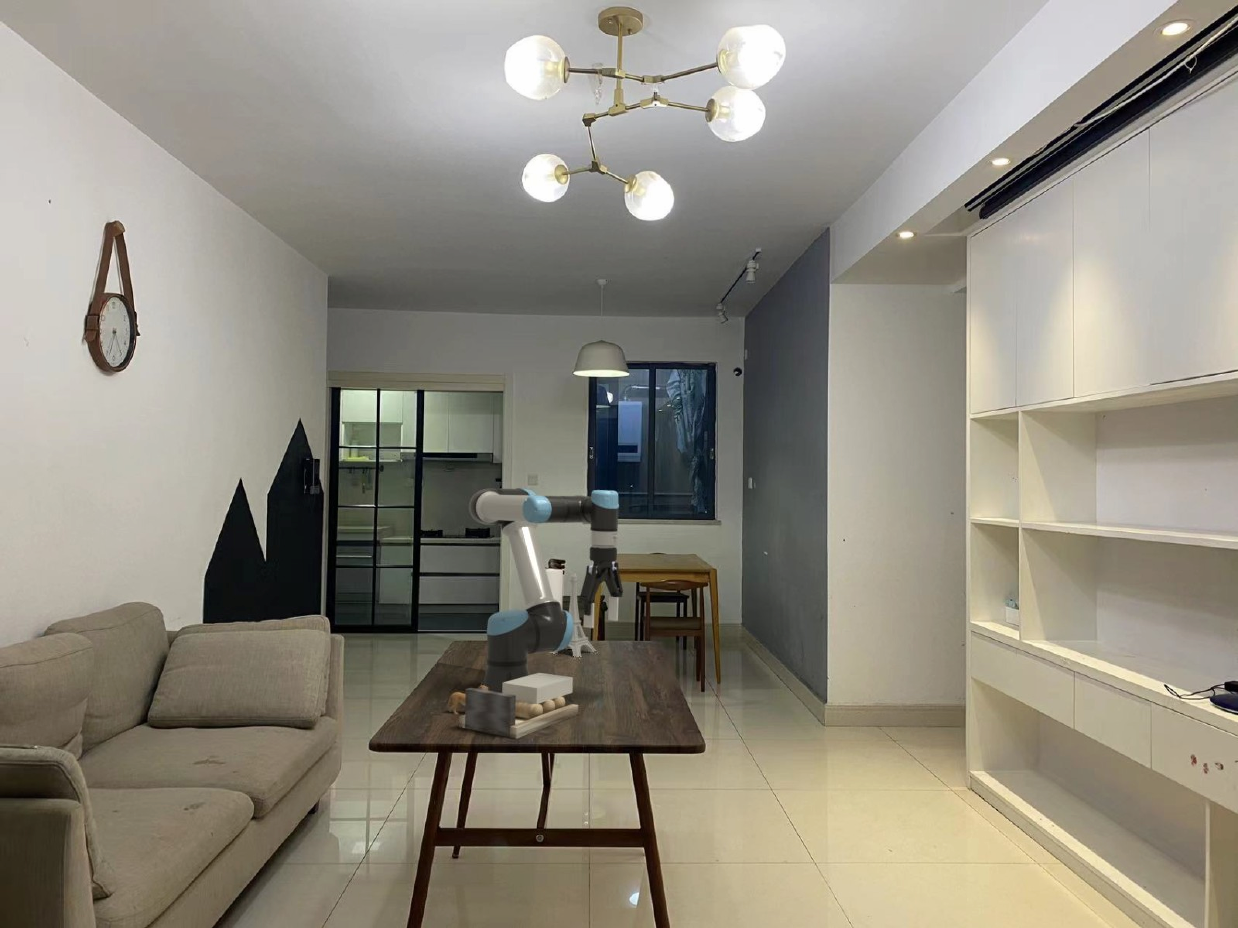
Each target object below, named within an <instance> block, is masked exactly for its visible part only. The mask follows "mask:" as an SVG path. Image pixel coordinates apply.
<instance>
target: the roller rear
mask: <svg viewBox="0 0 1238 928" xmlns="http://www.w3.org/2000/svg"><path fill="white" fill-rule="evenodd" d="M565 699H566V698H565V697H564V696H561V697H557V698H554V699H551V700H553V701H554V703H555V710H557V709H560V708H562V707H565V706H566V700H565Z"/></svg>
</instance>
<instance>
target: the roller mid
mask: <svg viewBox="0 0 1238 928" xmlns="http://www.w3.org/2000/svg"><path fill="white" fill-rule="evenodd" d="M539 704H540V705H541V706H542V708H543V714H546V713H549V712H552V711H554V710H555V703H554V701H553V700H548V701H545V702H542V703H539ZM543 714H542V715H543Z"/></svg>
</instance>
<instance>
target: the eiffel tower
mask: <svg viewBox="0 0 1238 928" xmlns="http://www.w3.org/2000/svg"><path fill="white" fill-rule="evenodd" d="M578 581H579V579H578V576H577V574H576V571H572V574H571V576H570V579H569V582H571V584H570V585H571V586H570V588H571V589H570V600H569V609H568V612H569V613H570V614H571V616H572V619H573V623H574V632H573V636H572V640H571V642H570V644H569V645H568V646H567V647H566V648H564V649H572V650H571V651H572V657H573V656H574V657H575V656H576V657H579V656H580V657H582V654H581V649H582V648H581V647H582V646H583V647H585V648H586V649H587V650H588V652H589V651H590V652H594V651H597V650H596V648H594V646H593V645H592V644H591V642H590V641H589V637H588V636H586V634H585V633H584V630H583V627H582V625H581V623H582V620H581V619H580V614H579V607H578V594H577V591H578V590H577V588H578V587H577V585H578V584H577V582H578ZM559 651H560V650H557V651H555V652H549V653H553V654H555V653H557V654H558V653H559ZM555 655H556V654H555Z"/></svg>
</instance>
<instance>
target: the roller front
mask: <svg viewBox="0 0 1238 928" xmlns="http://www.w3.org/2000/svg"><path fill="white" fill-rule="evenodd" d="M542 714H543V708H542V706H541V705H540V704H533V703H527V702H521V701H516V711H515V717H519V718H524V719H532V718H535V717H538V716H541V715H542Z"/></svg>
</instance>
